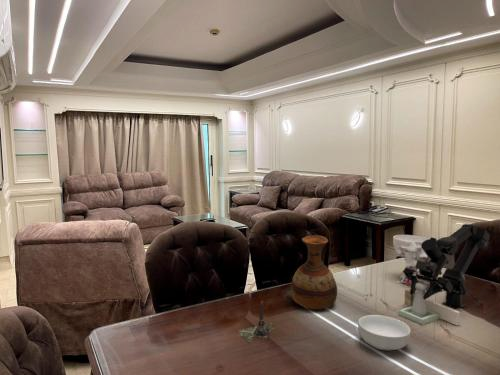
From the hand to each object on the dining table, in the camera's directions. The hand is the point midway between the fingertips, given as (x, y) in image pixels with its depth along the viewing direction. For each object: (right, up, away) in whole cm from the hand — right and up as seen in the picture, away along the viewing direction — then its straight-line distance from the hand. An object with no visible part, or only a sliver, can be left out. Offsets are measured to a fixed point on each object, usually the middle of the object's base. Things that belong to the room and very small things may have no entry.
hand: (417, 296), depth 146 cm
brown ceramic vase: (-39, -7, +14) cm, 42 cm away
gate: (+8, -8, +3) cm, 12 cm away
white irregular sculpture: (+17, -6, +42) cm, 46 cm away
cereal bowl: (-21, -10, -21) cm, 32 cm away
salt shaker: (+1, -8, +1) cm, 8 cm away
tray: (+1, -9, +1) cm, 9 cm away
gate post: (+3, -8, +14) cm, 16 cm away
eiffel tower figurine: (-62, -9, -14) cm, 65 cm away
